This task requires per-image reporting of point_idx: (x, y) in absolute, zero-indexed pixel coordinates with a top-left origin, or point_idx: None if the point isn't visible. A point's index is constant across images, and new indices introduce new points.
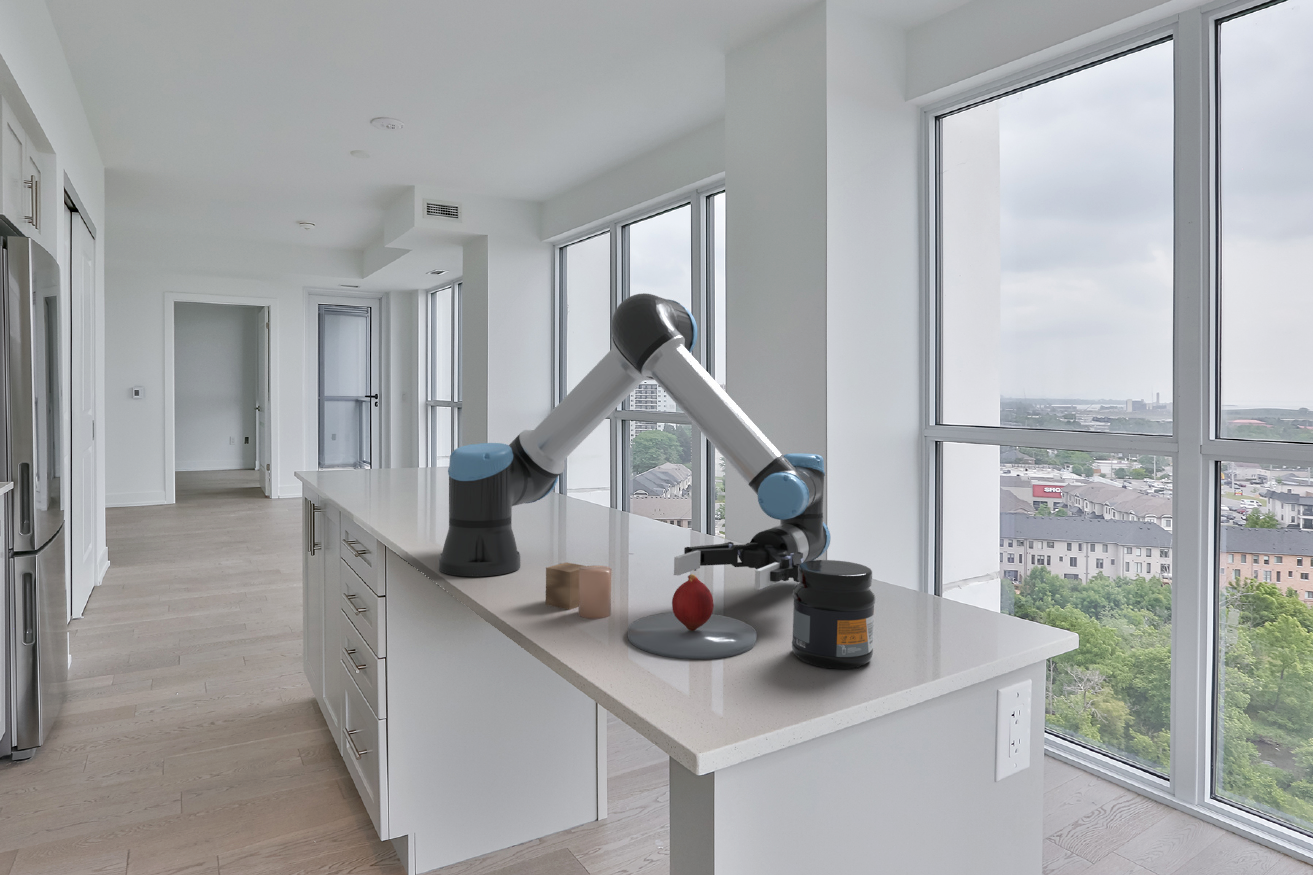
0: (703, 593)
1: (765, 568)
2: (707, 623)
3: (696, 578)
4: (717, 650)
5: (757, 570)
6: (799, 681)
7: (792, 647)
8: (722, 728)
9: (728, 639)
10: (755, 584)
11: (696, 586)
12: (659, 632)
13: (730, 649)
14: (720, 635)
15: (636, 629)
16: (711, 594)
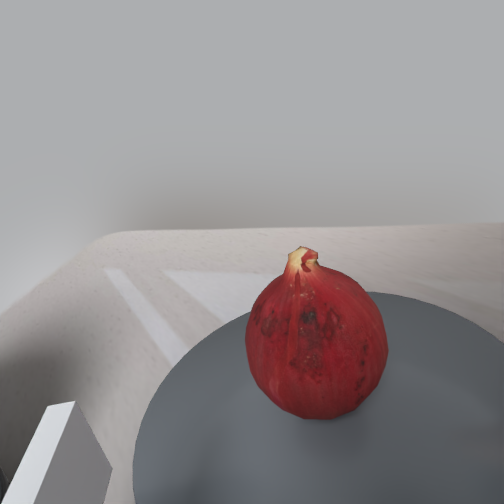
0: (255, 303)
1: (20, 472)
2: (346, 491)
3: (286, 267)
4: (186, 356)
5: (62, 403)
6: (5, 392)
7: (7, 481)
8: (95, 257)
9: (198, 422)
10: (101, 455)
11: (276, 278)
12: None
13: (164, 379)
14: (233, 429)
15: (430, 320)
16: (261, 350)
